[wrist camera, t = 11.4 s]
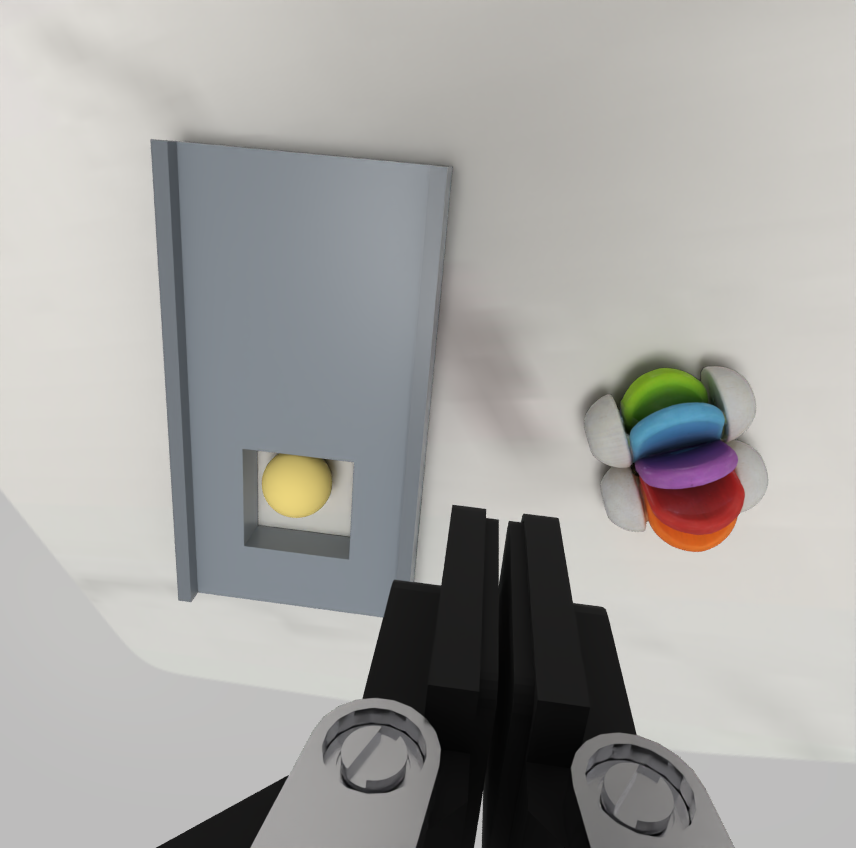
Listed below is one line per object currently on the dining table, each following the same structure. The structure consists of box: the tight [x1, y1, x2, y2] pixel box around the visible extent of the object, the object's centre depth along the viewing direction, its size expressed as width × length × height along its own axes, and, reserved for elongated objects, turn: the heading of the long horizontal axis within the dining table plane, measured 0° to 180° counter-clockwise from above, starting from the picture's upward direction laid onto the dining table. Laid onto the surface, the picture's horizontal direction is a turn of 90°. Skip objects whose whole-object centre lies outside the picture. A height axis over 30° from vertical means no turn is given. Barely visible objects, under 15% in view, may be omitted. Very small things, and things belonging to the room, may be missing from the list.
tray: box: [151, 139, 453, 617], centre depth 37 cm, size 26×14×4 cm, turn 175°
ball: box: [262, 453, 332, 518], centre depth 39 cm, size 4×4×4 cm
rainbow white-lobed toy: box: [584, 366, 768, 552], centre depth 35 cm, size 8×10×7 cm
